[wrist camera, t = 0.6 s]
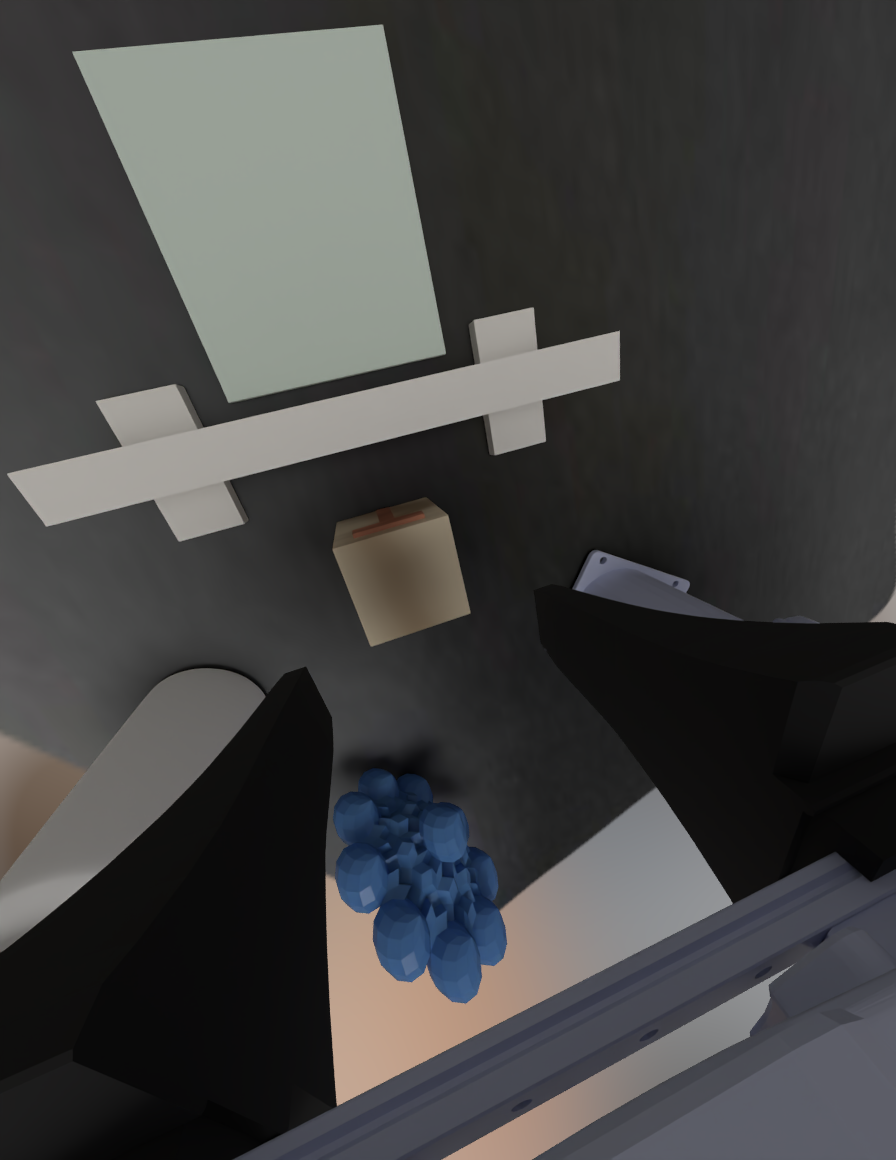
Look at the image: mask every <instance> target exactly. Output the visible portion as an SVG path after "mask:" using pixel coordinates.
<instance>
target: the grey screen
mask: <svg viewBox="0 0 896 1160" xmlns="http://www.w3.org/2000/svg"><path fill="white" fill-rule="evenodd" d="M469 332H470V338H471V344H472V350H473V356H474V362H475V365H472V366H467V367H463V368H459V369H454V370H450V371H446V372H442V373H437V374H433V375H429V376H424V377H420V378H416V379H411V380H407V381H403V382H399V383H394V384H390V385H386V386H381V387H377V388H373V389H369V390H364V391H360V392H356V393H351V394H347V395H343V396H339V397H334V398H330V399H326V400H321V401H317V402H313V403H309V404H304V405H300V406H296V407H291V408H287V409H283V410H279V411H274V412H270V413H266V414H261V415H257V416H253V417H248V418H244V419H240V420H236V421H231V422H227V423H223V424H218V425H214V426H210V427H206V428H204V427H203V425H202V423H201V421H200V419H199V417H198V415H197V413H196V411H195V409H194V407H193V405H192V403H191V401H190V399H189V396H188V394H187V392H186V390H185V388H184V387H183V386H180V385H176V384H174V385H169V386H164V387H160V388H155V389H150V390H146V391H141V392H136V393H132V394H127V395H122V396H118V397H113V398H108V399H104V400H99V401H96V403H97V405H98V406H99V408H100V410H101V412H102V413H103V415H104V417H105V418H106V420H107V422H108V423H109V425H110V427H111V428H112V430H113V432H114V433H115V435H116V437H117V438H118V440H119V442H120V443H121V445H122V447H120V448H116V449H111V450H107V451H103V452H98V453H94V454H90V455H85V456H81V457H77V458H73V459H68V460H64V461H60V462H55V463H51V464H47V465H43V466H38V467H34V468H30V469H25V470H21V471H17V472H13V473H8V474H7V475H8V476H9V478H10V479H11V480H12V482H13V483H14V484H15V485H16V487H17V488H18V489H19V491H20V492H21V493H22V495H23V496H24V497H25V499H26V500H27V501H28V503H29V504H30V505H31V507H32V508H33V509H34V511H35V512H36V513H37V515H38V516H39V517H40V519H41V520H42V521H43V523H44V524H45V525H46V527H47V526H51V525H55V524H59V523H63V522H67V521H70V520H74V519H78V518H82V517H86V516H90V515H94V514H98V513H102V512H106V511H110V510H114V509H117V508H121V507H125V506H129V505H133V504H137V503H141V502H145V501H149V500H153V499H154V501H155V502H156V504H157V506H158V507H159V509H160V511H161V512H162V514H163V516H164V517H165V519H166V521H167V523H168V524H169V526H170V528H171V529H172V531H173V533H174V534H175V536H176V538H177V539H178V541H179V542H180V541H183V540H187V539H191V538H194V537H198V536H202V535H205V534H209V533H213V532H216V531H220V530H224V529H227V528H231V527H235V526H238V525H242V524H245V523H246V522H247V521H248V520H249V519H248V517H247V515H246V513H245V511H244V509H243V507H242V505H241V503H240V501H239V499H238V497H237V495H236V493H235V491H234V489H233V487H232V485H231V483H230V481H229V480H231V479H235V478H239V477H243V476H247V475H251V474H255V473H259V472H263V471H266V470H270V469H274V468H278V467H282V466H286V465H290V464H294V463H298V462H302V461H306V460H310V459H313V458H317V457H321V456H325V455H329V454H333V453H337V452H341V451H345V450H349V449H353V448H357V447H361V446H364V445H368V444H372V443H376V442H380V441H384V440H388V439H392V438H396V437H400V436H404V435H408V434H411V433H415V432H419V431H423V430H427V429H431V428H435V427H439V426H443V425H447V424H451V423H455V422H458V421H462V420H466V419H470V418H474V417H478V416H482V415H483V418H484V424H485V430H486V436H487V442H488V448H489V454H490V455H498V454H502V453H505V452H509V451H513V450H516V449H520V448H524V447H527V446H531V445H535V444H538V443H542V442H546V436H545V425H544V415H543V404H542V400H545V399H549V398H553V397H556V396H560V395H564V394H568V393H572V392H576V391H580V390H584V389H588V388H592V387H596V386H600V385H604V384H607V383H611V382H615V381H619V380H620V331H617V332H613V333H609V334H605V335H600V336H596V337H592V338H587V339H583V340H579V341H575V342H570V343H566V344H562V345H557V346H553V347H549V348H544V349H540V350H537V340H536V330H535V319H534V308H528V309H524V310H519V311H514V312H510V313H505V314H500V315H496V316H491V317H486V318H482V319H477V320H473V321H472V322H471V323H470V324H469Z"/></svg>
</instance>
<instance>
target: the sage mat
mask: <svg viewBox="0 0 896 1160" xmlns="http://www.w3.org/2000/svg"><path fill="white" fill-rule="evenodd" d="M73 55H74V57H75V59H76V61H77V64H78V66H79V68H80V70H81V73H82V75H83V77H84V79H85V82H86V84H87V86H88V88H89V91H90V93H91V95H92V97H93V99H94V102H95V104H96V106H97V108H98V111H99V113H100V115H101V117H102V120H103V122H104V124H105V126H106V129H107V131H108V133H109V135H110V138H111V140H112V142H113V144H114V147H115V149H116V151H117V153H118V156H119V158H120V160H121V162H122V165H123V167H124V169H125V171H126V173H127V176H128V178H129V180H130V182H131V185H132V187H133V189H134V191H135V194H136V196H137V198H138V200H139V203H140V205H141V207H142V209H143V212H144V214H145V216H146V218H147V221H148V223H149V225H150V227H151V230H152V232H153V234H154V236H155V238H156V241H157V243H158V245H159V247H160V250H161V252H162V254H163V256H164V259H165V261H166V263H167V265H168V268H169V270H170V272H171V274H172V277H173V279H174V281H175V283H176V286H177V288H178V290H179V292H180V295H181V297H182V299H183V301H184V304H185V306H186V308H187V310H188V312H189V315H190V317H191V319H192V321H193V324H194V326H195V328H196V330H197V333H198V335H199V337H200V339H201V342H202V344H203V346H204V348H205V351H206V353H207V355H208V357H209V360H210V362H211V364H212V366H213V369H214V371H215V373H216V375H217V378H218V380H219V382H220V384H221V386H222V389H223V391H224V393H225V395H226V398H227V400H228V402H229V403H236V402H240V401H245V400H249V399H254V398H258V397H263V396H267V395H271V394H276V393H280V392H285V391H289V390H293V389H298V388H302V387H307V386H311V385H316V384H320V383H324V382H329V381H333V380H338V379H342V378H346V377H351V376H355V375H360V374H364V373H369V372H373V371H377V370H382V369H386V368H391V367H395V366H399V365H404V364H408V363H413V362H417V361H422V360H426V359H430V358H435V357H439V356H444V355H445V354H446V352H445V346H444V341H443V336H442V331H441V326H440V320H439V315H438V310H437V305H436V299H435V294H434V289H433V284H432V279H431V273H430V268H429V263H428V258H427V253H426V247H425V242H424V237H423V232H422V226H421V221H420V216H419V211H418V206H417V200H416V195H415V190H414V185H413V180H412V174H411V169H410V164H409V159H408V154H407V148H406V143H405V138H404V133H403V127H402V122H401V117H400V112H399V107H398V101H397V96H396V91H395V86H394V81H393V75H392V70H391V65H390V60H389V54H388V49H387V44H386V39H385V34H384V28H383V25H373V26H362V27H350V28H339V29H328V30H316V31H305V32H293V33H282V34H271V35H259V36H248V37H236V38H225V39H213V40H202V41H191V42H179V43H168V44H156V45H145V46H134V47H122V48H111V49H99V50H88V51H76V52H73Z"/></svg>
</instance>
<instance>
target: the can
mask: <svg viewBox="0 0 896 1160" xmlns="http://www.w3.org/2000/svg"><path fill="white" fill-rule="evenodd" d="M265 697H266V696H265V695H264V693H263V692H262V690H261V689H260V688H259V687H258V686H257V685H256V684H254V683H253V682H252V681H250V680H249V679H247V678H246V677H244V676H242V675H240V674H238V673H235V672H232V671H228V670H223V669H215V668H200V669H192V670H187V671H183V672H179V673H176V674H174V675H172V676H170V677H168V678H166V679H164V680H163V681H161V682H160V683H158V684H157V685H156V686H155V687H154V688H153V689H152V690H151V691H150V692H149V694H148V695H147V696H146V697H145V698H144V700H143V701H142V702H141V703H140V705H139V706H138V707H137V708H136V709H135V711H134V712H133V713H132V714H131V716H130V717H129V718H128V720H127V721H126V722H125V723H124V725H123V726H122V727H121V728H120V730H119V731H118V732H117V733H116V735H115V736H114V737H113V738H112V740H111V741H110V742H109V743H108V745H107V746H106V747H105V748H104V750H103V751H102V752H101V754H100V755H99V756H98V757H97V759H96V760H95V761H94V762H93V764H92V765H91V766H90V767H89V769H88V770H87V771H86V773H85V774H84V775H83V777H82V778H81V779H80V780H79V781H78V783H77V784H76V785H75V786H74V788H73V789H72V790H71V792H70V793H69V794H68V795H67V797H66V798H65V799H64V800H63V802H62V803H61V804H60V805H59V807H58V808H57V809H56V811H55V812H54V813H53V814H52V816H51V817H50V818H49V820H48V821H47V822H46V823H45V825H44V826H43V827H42V828H41V830H40V831H39V832H38V834H37V835H36V836H35V837H34V839H33V840H32V841H31V842H30V844H29V845H28V846H27V848H26V849H25V850H24V851H23V853H22V854H21V855H20V857H19V858H18V859H17V860H16V862H15V863H14V864H13V865H12V867H11V868H10V869H9V871H8V872H7V873H6V874H5V876H4V877H3V878H2V880H1V881H0V953H1V952H2V951H4V950H5V949H6V948H8V947H9V946H10V945H12V944H13V943H14V942H15V941H17V940H18V939H19V938H20V937H22V936H23V935H24V934H25V933H27V932H28V931H29V930H30V929H32V928H33V927H34V926H35V925H37V924H38V923H39V922H40V921H42V920H43V919H44V918H45V917H46V916H48V915H49V914H50V913H51V912H52V911H54V910H55V909H56V908H57V907H58V906H60V905H61V904H62V903H63V902H65V901H66V900H67V899H68V898H69V897H71V896H72V895H73V894H74V893H75V892H77V891H78V890H79V889H80V888H81V887H82V886H84V885H85V884H86V883H87V882H88V881H89V880H91V879H92V878H93V877H94V876H95V875H96V874H98V873H99V872H100V871H101V870H102V869H103V868H104V867H106V866H107V865H108V864H109V863H110V862H111V861H112V860H114V859H115V858H116V857H117V856H118V855H119V854H120V853H121V852H122V851H123V850H124V849H125V848H126V847H128V846H129V845H130V844H131V843H132V842H133V841H134V840H135V839H136V838H137V837H138V836H139V835H141V834H142V833H143V832H144V831H145V830H146V829H147V828H148V827H149V826H150V825H151V824H152V823H154V822H155V821H156V820H157V819H158V818H159V817H160V816H161V815H162V814H163V813H164V812H165V811H166V810H167V809H168V808H169V807H170V806H171V805H172V804H173V803H174V802H175V801H176V800H177V799H178V798H179V797H180V796H181V795H182V794H183V793H184V792H185V791H186V790H187V789H188V788H189V787H190V786H191V785H192V784H193V783H194V782H195V780H196V779H197V778H198V777H199V776H200V775H201V774H202V773H203V772H204V771H205V770H206V769H207V767H208V766H209V765H210V764H211V763H212V762H213V761H214V759H215V758H216V757H217V756H218V755H219V753H220V752H221V751H222V750H223V749H224V748H225V746H226V745H227V744H228V743H229V742H230V741H231V739H232V738H233V737H234V736H235V735H236V734H237V732H238V731H239V730H240V729H241V727H242V726H243V725H244V724H245V722H246V721H247V720H248V719H249V717H250V716H251V715H252V714H253V712H254V711H255V710H256V709H257V707H258V706H259V705H260V703H261V702H262V701H263V700H264V698H265Z"/></svg>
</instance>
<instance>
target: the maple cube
mask: <svg viewBox="0 0 896 1160" xmlns="http://www.w3.org/2000/svg"><path fill="white" fill-rule="evenodd" d="M332 550H333V552H334V555H335V557H336V560H337V562H338V565H339V567H340V570H341V572H342V575H343V578H344V580H345V583H346V585H347V588H348V590H349V593H350V595H351V598H352V600H353V603H354V605H355V608H356V610H357V613H358V616H359V618H360V621H361V623H362V626H363V628H364V631H365V633H366V636H367V638H368V641H369V643H370V646H371V647H372V646H375V645H378V644H381V643H384V642H387V641H390V640H393V639H396V638H399V637H402V636H405V635H408V634H411V633H414V632H417V631H420V630H423V629H425V628H428V627H431V626H434V625H437V624H440V623H443V622H446V621H449V620H452V619H455V618H458V617H461V616H464V615H467V614H470V608H469V604H468V600H467V595H466V591H465V586H464V582H463V578H462V573H461V569H460V565H459V560H458V556H457V552H456V547H455V543H454V538H453V534H452V530H451V525H450V521H449V517H448V515H447V514H446V513H445V512H444V511H442V510H441V509H440V508H439V507H438V506H436V505H435V504H434V503H433V502H432V501H430V500H429V499H428V498H427V497H424V498H421V499H417V500H414V501H410V502H407V503H403V504H400V505H396V506H393V507H386V508H383V509H379V510H376V511H375V512H371V513H368V514H364V515H361V516H357V517H354V518H350V519H347V520H343V521H339V522H337V524H336V530H335V536H334V542H333V548H332Z"/></svg>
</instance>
